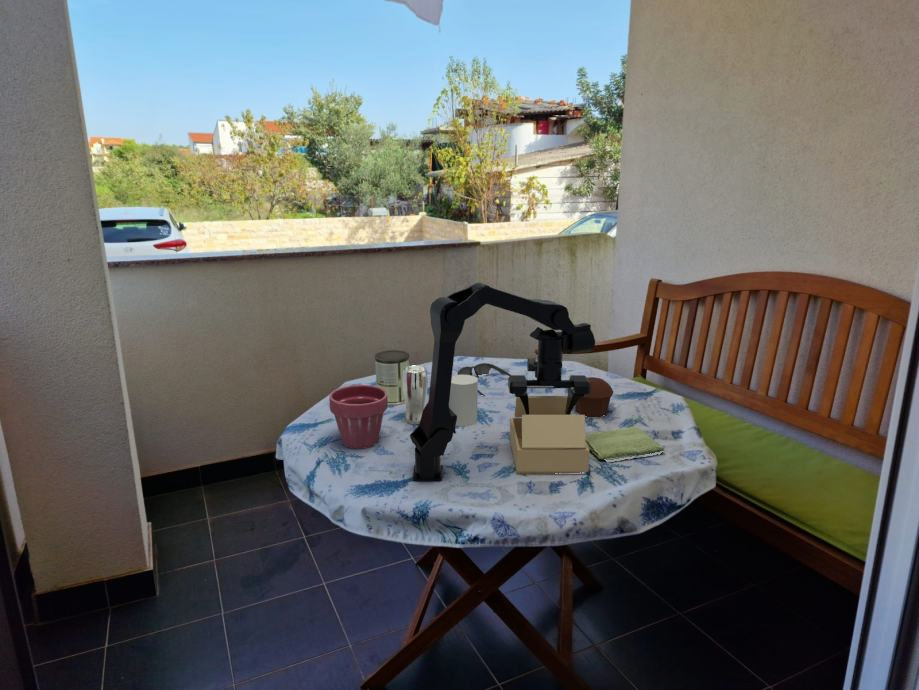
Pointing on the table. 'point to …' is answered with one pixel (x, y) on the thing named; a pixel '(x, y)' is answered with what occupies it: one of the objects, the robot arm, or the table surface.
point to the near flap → (553, 431)
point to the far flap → (542, 405)
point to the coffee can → (391, 374)
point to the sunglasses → (480, 370)
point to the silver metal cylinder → (414, 392)
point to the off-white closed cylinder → (464, 399)
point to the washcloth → (621, 443)
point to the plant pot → (359, 414)
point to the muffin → (595, 399)
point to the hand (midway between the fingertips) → (547, 418)
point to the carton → (545, 456)
